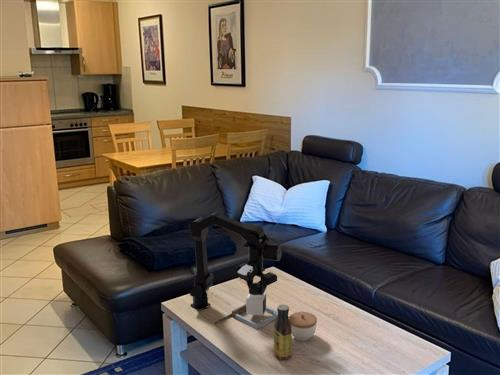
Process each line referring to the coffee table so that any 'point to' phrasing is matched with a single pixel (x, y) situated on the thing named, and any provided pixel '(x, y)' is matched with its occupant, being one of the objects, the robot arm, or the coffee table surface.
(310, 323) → the lidded jar
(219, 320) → the rail
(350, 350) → the coffee table surface
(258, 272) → the robot arm
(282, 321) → the sauce bottle
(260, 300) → the medicine bottle
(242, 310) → the wooden plank
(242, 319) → the grey angle bracket
